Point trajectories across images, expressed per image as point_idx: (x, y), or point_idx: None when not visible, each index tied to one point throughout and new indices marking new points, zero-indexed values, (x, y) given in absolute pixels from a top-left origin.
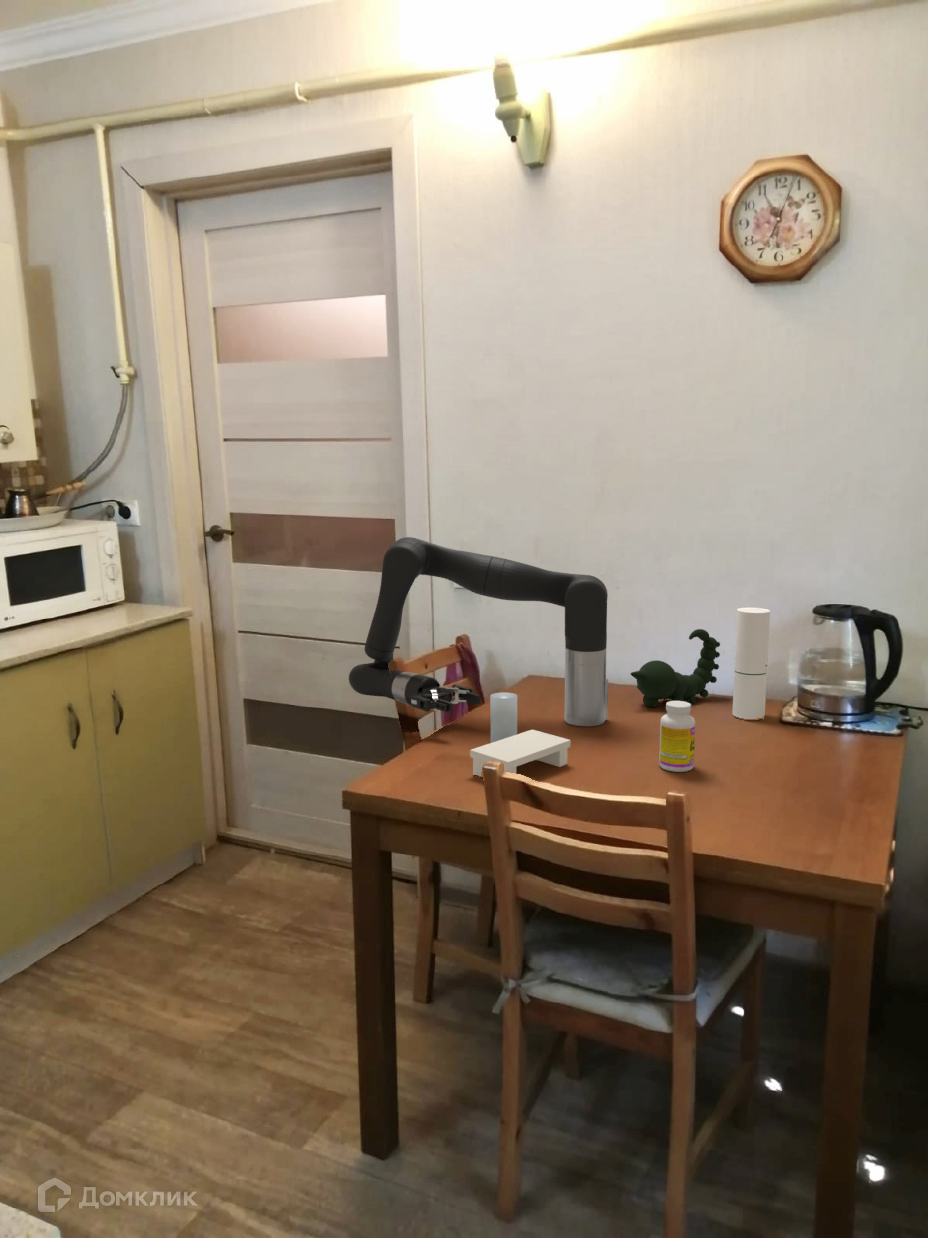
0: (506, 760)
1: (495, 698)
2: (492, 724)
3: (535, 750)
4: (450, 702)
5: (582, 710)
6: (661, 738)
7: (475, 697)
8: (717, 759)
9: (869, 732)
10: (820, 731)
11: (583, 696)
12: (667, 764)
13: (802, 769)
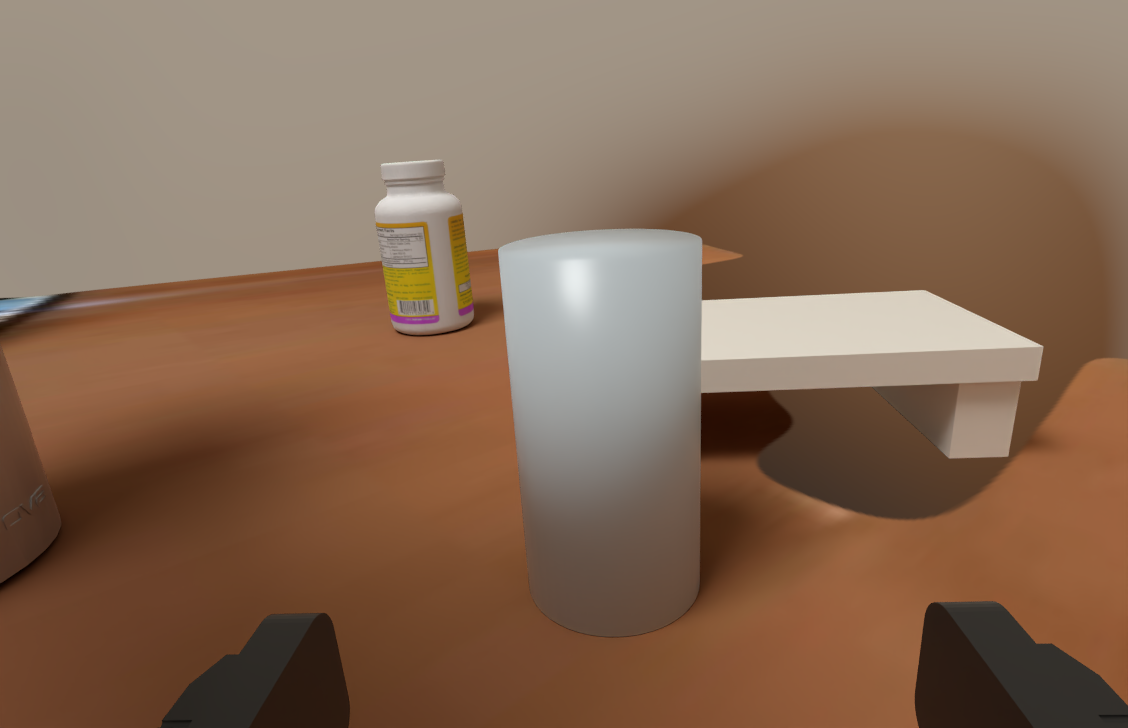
0: (924, 294)
1: (694, 237)
2: (699, 438)
3: (766, 300)
4: (958, 605)
5: (31, 445)
6: (454, 252)
7: (309, 674)
8: (333, 320)
9: (48, 302)
10: (48, 317)
11: (3, 365)
12: (472, 306)
13: (330, 287)
